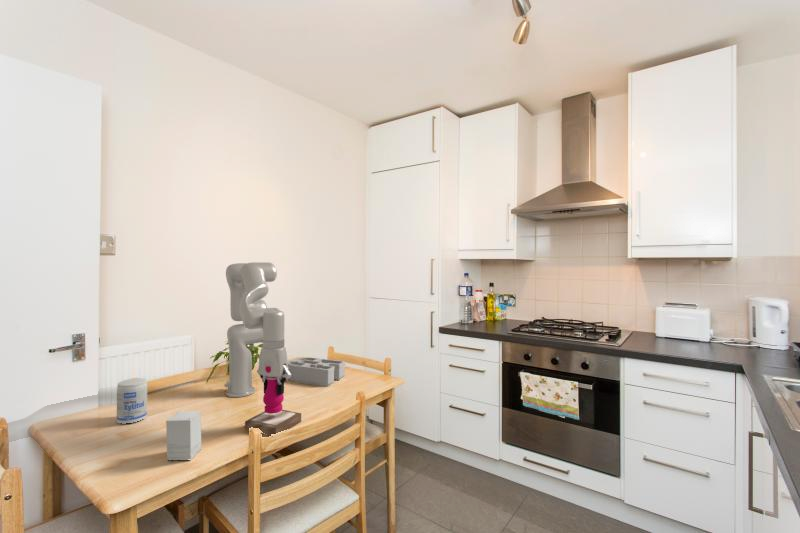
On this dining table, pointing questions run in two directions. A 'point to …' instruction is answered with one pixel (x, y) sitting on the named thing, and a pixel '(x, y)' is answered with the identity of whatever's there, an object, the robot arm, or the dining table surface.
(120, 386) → the supplement tub
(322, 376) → the grey hollow block
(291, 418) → the base
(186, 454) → the supplement box
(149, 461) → the dining table surface
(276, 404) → the pepper mill
